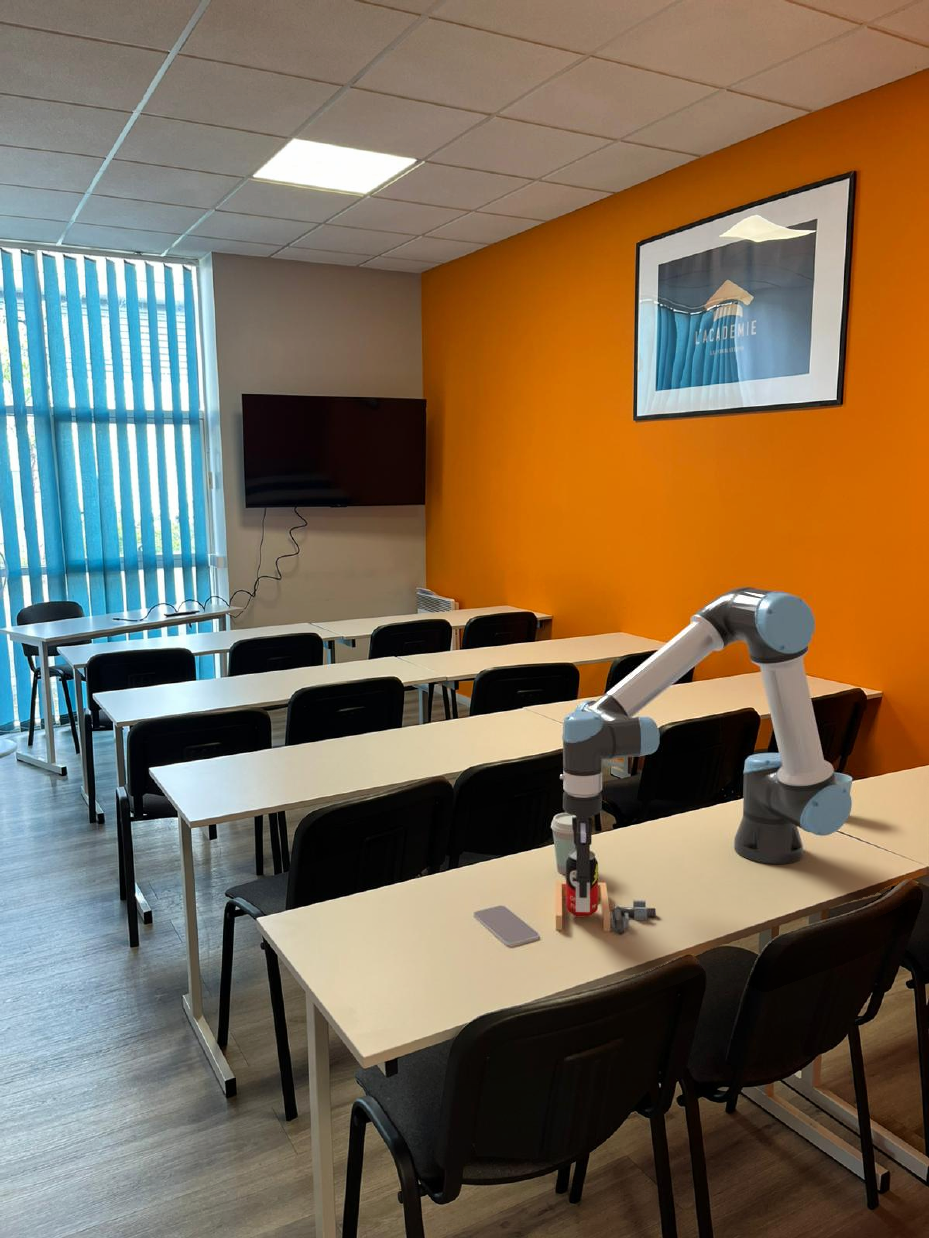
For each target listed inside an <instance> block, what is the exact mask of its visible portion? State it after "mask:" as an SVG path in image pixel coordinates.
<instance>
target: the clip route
mask: <svg viewBox="0 0 929 1238" xmlns="http://www.w3.org/2000/svg"><path fill="white" fill-rule="evenodd" d="M656 914H657V910H656V908H655V907H647V905H646V900H644V899H643V900H639V899H638V900H637V899H633V900H632V907H631V906H630V907H627V906H626V907H625V906H619V905H615V906H614V907H613V908H612V912H611V911H610V931H615V933H616V934H617V935H619V936H621V935H623V934H624V933H625V931H629V930H630V926H629V925H630V923H629V922H630V917H633V918H634V920H635V921H648V917H654V918H655V917H656V916H657V915H656ZM623 917H624V920H623Z"/></svg>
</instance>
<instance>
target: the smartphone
mask: <svg viewBox="0 0 929 1238" xmlns="http://www.w3.org/2000/svg"><path fill="white" fill-rule="evenodd" d="M472 913H473V914H472V915H473V917H474V918H475V920H476V921H478V922H479V923H480V924H481V925H482V926H483V927H484V928H485V929H487V930H488V931H489V932H490V933H491V934H492V935H493V936H494V937H496V938H497V940H499V941H500V942H501V943H502V944H504V946H506V947H510V948H512V947H516V946H520V945H523V944H527V943H530V942H533V941H537V940H539V939H540V933H539V932H538V931H537V930H535V928H533V927H532V926H531V925H530V924H529V923H527V922H526V921H525V920H523V919H521V917H519V916H518V915H517V914H516V913H514V912H513V911H512V910H510V909H509V908H508V907H507V906H505V905H502V904H501V905H495V906H492V907H489V908H484V909H479V910H476V911H474V912H472Z"/></svg>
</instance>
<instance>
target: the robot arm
mask: <svg viewBox="0 0 929 1238" xmlns="http://www.w3.org/2000/svg"><path fill="white" fill-rule="evenodd" d="M815 621H816V619H815V616H814V613H813V611H812V609H811V607H810V605H809V604H808V603H807V602H806V601H805V600H804V599H803V598H801V597H799V596H797V595H794V594H791V593H788V592H785V591H780V590H776V591H775V590H774V591H773V590H768V589H767V590H766V589H761V588H756V587H751V586H750V587H749V586H742V587H737V588H732V590H729V591H726V592H724V593H723V594H721V595H719V596H717V597H715V598H714V599H712V600H711V601H709V602H708V603H707V604H705V605H704V606H703V607H702V608H700V609H699V610H698V611H696V612H695V613H694V614H693V615H692V616H690V624H688V625H687V626H685V628H683V629H682V630H681V631H680V632H678V634H676V635H675V636H674V637H673V638H671V639H670V640H669V641H667V642H666V643H665V644H664V645H663V646H661V647H660V648H659V649H658V650H656V651H655V652H654V653H653V654H651V656H649V657H648V658H647V659H645V660H644V661H642V663H641V664H640V665H638V666H637V667H636V668H635V669H634V670H633V671H631V672H629V674H627V675H626V676H625V677H624V678H623V679H621V680H620V681H619V682H618V683H616V684H615V685H614V686H613V687H611V688H610V689H609V690H608V691H607V692H606V693H604V694H603V695H602V696H600V697H599V698H598V699H596V700H592V699H591V700H590V699H588V700H584V701H582V702H580V703H579V704H578V705H577V706H576V708H575V710H574V711H572V712H570V713H568V714H566V715H565V717H564V718H563V725H562V735H561V738H562V756H563V757H562V758H563V759H562V763H563V764H562V770H563V774H560V775H559V779H560V780H563V781H562V782H563V784H562V785H563V790H564V791H563V793H562V809H563V810H564V813H568V814H570V815H575V817H572V829H573V835H574V844H575V850H576V858H577V876H576V878H573V881H576V912H590V881H591V878H590V851H591V845H592V840H593V839H592V832H593V830H594V826H593V817H591V816H597V815H598V814H599V813H601V811H602V804H603V803H602V802H603V801H602V800H603V799H602V797H603V793H601V791H602V790H603V761H608V760H609V761H610V760H615V759H626V758H633V757H642V756H646V755H652V754H653V753H655V752H656V751H657V750H658V748H659V745H660V736H661V735H660V730H659V727H658V724H657V723H656V721H655V720H654V719H653V718H652V717H649V716H639V715H637V714H638V713H640V712H641V711H642V710H643V709H645V707H647V706H648V705H649V704H650V703H651V702H653V701H654V700H656V698H658V697H659V696H660V695H661V694H663V693H664V692H665V691H666V690H667V689H668V688H669V689H670V687H671V686H672V685H673V684H675V683H676V682H677V681H679V679H681V678H682V677H683V676H684V675H686V674H687V673H688V672H689V671H690V670H691V669H693V668H694V667H695V666H697V665H698V664H699V663H700V662H702V660H704V659H705V658H706V657H708V656H709V655H710V654H711V653H713V651H717V652H720V651H722V650H723V649H725V648H726V647H727V646H728V645H730V644H732V643H735V642H742V643H746V645H747V646H746V647H747V651H748V654H749V655H748V656H749V658H750V661H751V662H752V663H753V664H754V665H756V666H758V667H759V668H760V674H761V677H762V682H763V683H762V684H763V686H764V687H763V688H764V691H765V696H766V700H767V704H768V708H769V710H768V711H769V712H770V713H769V715H770V717H771V722H772V727H773V732H774V735H775V740H776V745H777V748H778V749H777V750H778V752H763V753H756V754H752V755H748V756H747V758H746V759H745V760H744V769H743V771H742V772H743V795H742V796H743V797H742V798H743V801H742V818H741V821H740V823H739V826H738V829H737V831H736V834H735V836H734V843H733V844H734V845H733V848H734V851H735V852H736V853H737V854H738V855H739V856H741V857H743V858H745V859H748V860H751V861H753V862H757V863H763V864H772V865H784V864H791V863H795V862H799V860H801V859H802V857H803V855H804V854H803V853H804V846H803V845H804V844H803V842H802V838H801V835H800V831H799V829H802V830H803V831H805V832H807V833H811V834H813V835H815V836H819V837H820V836H821V837H822V836H823V837H825V836H830V835H832V834H833V833H836V832H837V831H839V830H840V829H841V828H842V827H844V824H845V823H846V821H847V819H849V817H850V814H851V812H852V807H853V801H852V796H851V793H850V794H849V792H848V791H847V790H846V789H845V788H844V787H843V786H841V785H838V784H837V783H836V778H835V774H834V773H835V769H834V767H833V764H832V763H830V762H829V761H827V760H825V759H824V754H823V749H822V744H821V739H820V735H819V731H818V725H817V722H816V721H817V720H816V716H815V712H814V706H813V702H812V698H811V697H812V696H811V692H810V687H809V683H808V678H807V674H806V670H805V664H804V658H805V656H806V655H807V654H808V652H809V645H810V643H811V642H812V640H813V637H812V635H814V634H815V631H816V630H815V629H816V622H815ZM636 715H637V716H636ZM635 716H636V717H635ZM798 828H799V829H798Z"/></svg>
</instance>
